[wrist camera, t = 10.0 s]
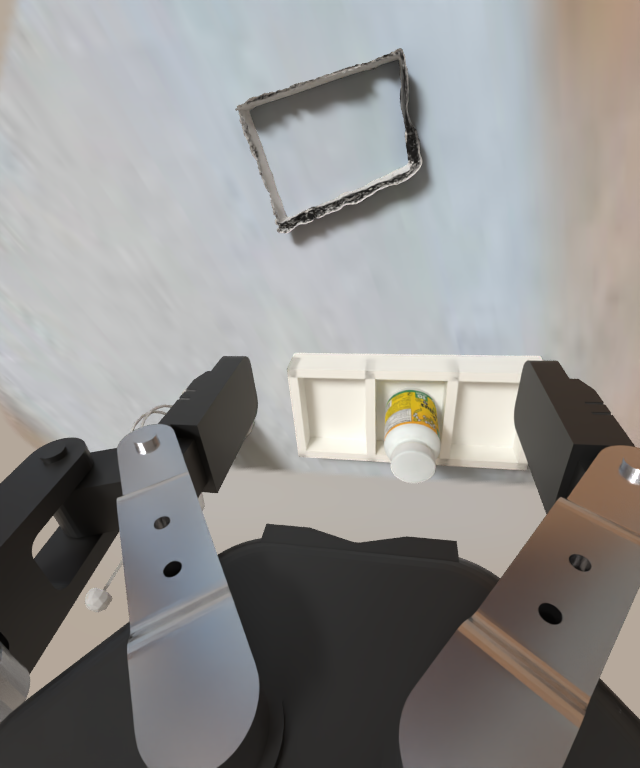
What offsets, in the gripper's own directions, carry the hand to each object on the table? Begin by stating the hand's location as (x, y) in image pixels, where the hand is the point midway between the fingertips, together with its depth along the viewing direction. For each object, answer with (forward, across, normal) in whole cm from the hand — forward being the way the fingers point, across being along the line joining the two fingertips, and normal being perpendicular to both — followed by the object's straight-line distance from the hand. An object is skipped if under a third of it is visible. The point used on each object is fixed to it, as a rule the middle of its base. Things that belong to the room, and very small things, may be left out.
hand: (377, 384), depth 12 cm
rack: (+28, -2, +20) cm, 34 cm away
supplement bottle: (+27, -2, +20) cm, 34 cm away
